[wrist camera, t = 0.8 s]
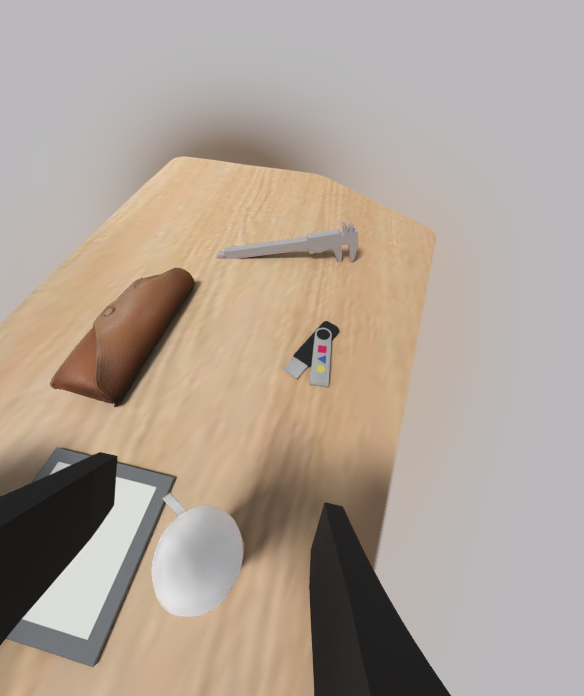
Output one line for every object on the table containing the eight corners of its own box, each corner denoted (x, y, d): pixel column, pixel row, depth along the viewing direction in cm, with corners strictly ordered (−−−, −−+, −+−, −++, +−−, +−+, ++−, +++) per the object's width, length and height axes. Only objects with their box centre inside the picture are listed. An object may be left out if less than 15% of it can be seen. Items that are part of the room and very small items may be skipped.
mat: (96, 664, 17) (91, 667, 17) (-55, 614, 18) (-63, 616, 18) (175, 478, 23) (173, 477, 23) (59, 448, 24) (56, 447, 24)
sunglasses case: (138, 274, 37) (144, 241, 32) (187, 300, 40) (199, 274, 35) (43, 390, 27) (30, 368, 22) (116, 416, 30) (119, 402, 25)
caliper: (352, 259, 42) (362, 220, 37) (353, 264, 41) (363, 225, 36) (218, 255, 41) (209, 215, 36) (217, 260, 40) (208, 219, 35)
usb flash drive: (323, 324, 34) (324, 319, 34) (360, 345, 33) (362, 340, 32) (281, 371, 30) (281, 366, 29) (320, 397, 29) (322, 393, 28)
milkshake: (233, 493, 23) (208, 469, 15) (264, 561, 20) (255, 578, 12) (180, 527, 21) (119, 522, 13) (207, 605, 19) (152, 659, 11)
